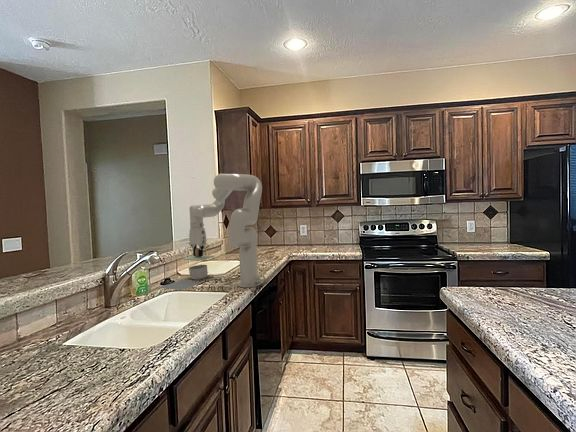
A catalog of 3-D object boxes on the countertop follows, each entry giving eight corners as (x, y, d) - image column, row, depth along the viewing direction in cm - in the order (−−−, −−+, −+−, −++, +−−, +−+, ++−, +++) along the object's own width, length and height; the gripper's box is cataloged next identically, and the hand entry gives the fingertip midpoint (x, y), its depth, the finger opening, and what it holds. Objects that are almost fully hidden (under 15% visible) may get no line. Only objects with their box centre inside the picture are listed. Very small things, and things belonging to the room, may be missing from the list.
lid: (213, 257, 204) (213, 247, 203) (198, 260, 192) (198, 251, 192) (198, 255, 210) (197, 246, 209) (182, 259, 198) (182, 249, 198)
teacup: (203, 281, 194) (202, 268, 193) (185, 281, 196) (185, 268, 195) (213, 276, 207) (212, 263, 207) (197, 275, 209) (196, 263, 209)
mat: (203, 283, 189) (203, 282, 189) (180, 291, 174) (180, 290, 174) (181, 281, 197) (181, 280, 197) (158, 288, 182) (158, 287, 182)
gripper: (211, 225, 199) (213, 255, 200) (191, 225, 207) (192, 254, 208) (202, 226, 193) (204, 257, 194) (182, 226, 200) (183, 256, 201)
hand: (198, 255), depth 201 cm, fingers closed on lid, 3 cm apart
